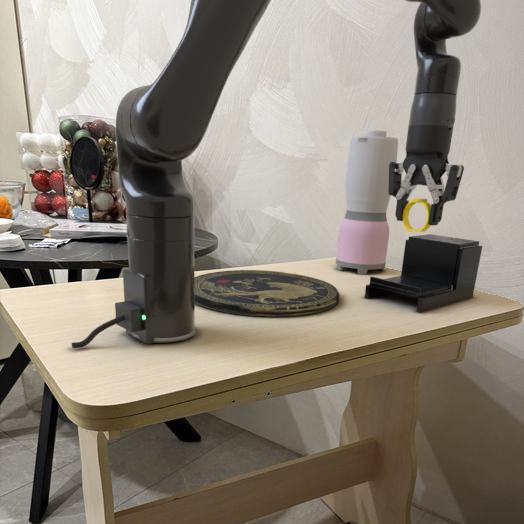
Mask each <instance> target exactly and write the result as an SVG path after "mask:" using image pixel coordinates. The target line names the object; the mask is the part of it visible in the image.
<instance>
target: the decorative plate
mask: <svg viewBox="0 0 524 524" xmlns="http://www.w3.org/2000/svg"><path fill="white" fill-rule="evenodd" d="M194 281H195V305H198V306H201V307H203V308H206V309H210V310H214V311H218V312H222V313H228V314H234V315H242V316H253V317H270V318H272V317H295V316H306V315H307V316H308V315H311V314H319V313H322V312H325V311H328V310H330V309H332V308H334V307H335V306H336V305H337V304H338V303H339V299H340V293H339V291H338V289H337V287H335V286H334V285H333V284H332V283H329V282H327V281H325V280H323V279H319V278H316V277H312V276H309V275H304V274H303V275H302V274H298V273H294V272H293V273H292V272H286V271H285V272H284V271H277V270H276V271H275V270H258V269H236V270H233V269H232V270H221V271H213V272H208V273H204V274H199V275H197V276H194Z"/></svg>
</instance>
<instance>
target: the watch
mask: <svg viewBox="0 0 524 524" xmlns="http://www.w3.org/2000/svg"><path fill="white" fill-rule="evenodd" d="M417 203H418V204H419V203H420V204H422V206H424V207H425V211H426V220H425V223H424V226H422V227H421V228H420V229H419V228H413V227H412V226H411V224H410V220H409V217H410V216H409V215H410V211H411V209H412V207H413V206H414V205H415V204H417ZM430 210H431V204H430V202H429V201H428V198H424V197H423V198H421V197H420V198H419V197H412V198H411V201H409V203H408V204H407V205H406V207H405V209H404V211H403V217H402V218H403V221H402V223H403V226H404V228H405V229H406V230H407V231H408V232H416V233H417V232H419V233H420V232H421V233H422V232H423V233H424V232H426V231H428V229H430V227H431V225H429V217H430Z"/></svg>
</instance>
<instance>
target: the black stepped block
mask: <svg viewBox="0 0 524 524" xmlns="http://www.w3.org/2000/svg"><path fill="white" fill-rule="evenodd" d="M404 244H405V245H404V249H403V256H402V257H403V258H402V264H401V272H400V275H398V276H393V277H388V278H381V277H377V276H369V277H370V278H369V284H366V285H365V291H364V298H365V299H371V298H376V297H380V296H381V297H382V296H384V295H389V294H393V293H397V294H402V295H406V296H409V297H412V298H418V299H417V306H416V313H420V314H421V313H424V312H428V311H430V310H431V311H432V310H435V309H438V308H441V307H444V306H448V305H451V304H455V303H458V302H462V301H466V300H469V299H473V297H474V294H475V293H474V292H475V287H476V283H477V282H476V281H477V276H478V271H479V267H480V261H481V256H482V250H483V245H480V241H479V240H472V239H466V238H459V237H453V236H445V235H440V234H432V233H427V234H419V235H411V236H408V239H406V240H405V243H404Z"/></svg>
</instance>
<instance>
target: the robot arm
mask: <svg viewBox="0 0 524 524" xmlns="http://www.w3.org/2000/svg"><path fill="white" fill-rule="evenodd" d="M404 1H406V2H408V3H419V5H418V6H417V9H416V12H415V15H414V19H413V38H414V49H415V50H414V52H415V59H416V67H417V72H416V77H415V84H414V92H413V93H414V94H413V99H412V102H411V107H410V112H409V120H408V127H407V135H406V142H405V154H406V155H405V158H404V159H403V161H397V162H390V164H389V189H388V193H389V195H391V197H394V198H395V199H396V204H395V205H396V206H395V213H394V216H395V218H396V221H398V222H403V218H402V217H403V211H404V209H405V207H406V205H407V204H408V203H409V202H410V200H409V198H410V196H411V194H412V192H413V191H414V190H415V189H416V188H417V186H425V187H427V190H428V192H429V193H430V196H431V199H432V202H433V203H431V204H430V205H431V210H430V217H429V225H430V226H438V225H439V223H441V221H442V219H443V212H444V206H445V204H446V203H447V202H451V201H455V200H456V199H457V195H458V192H459V189H460V185H461V181H462V178H463V174H464V171H465V166H464V164H463V165H462V164H452V163H450V161H449V154H450V152H451V144H452V140H453V139H452V138H453V134H454V133H453V132H454V126H455V122H456V113H457V97H458V90H459V84H460V77H461V69H462V63H461V62H462V61H461V59H460V58H459V57H457V56H456V55H452V54H448V52H447V40H448V39H453V38H458V37H462V36H465V35H467V34H469V33H470V32H472V31H473V29H475V27H476V26H477V24H478V22H479V20H480V17H481V13H482V3H481V0H404ZM271 2H272V0H191V1H190V5H189V10H188V11H189V12H188V17H187V21H186V25H185V29H184V31H183V32H184V33H183V34H182V36H181V39H180V41H179V43H178V44H177V47H176V48H175V50H174V52H173V54H172V55H171V57H170V58H169V60H168V62H167V63H166V65H165V66H164V68H163V69H162V71H161V72H160V73H159V75H158V76H157V78H156V79H155V80H154V81H153V83H151V84H147V85H142V86H137V87H134V88H132V89H131V90H129V91H128V92H127V93H126V94H125V95H124V96H123V97H122V98H121V100H120V102H119V104H118V107H117V109H116V110H117V111H116V116H115V142H116V144H115V145H116V156H117V167H118V169H117V170H118V178H119V186H120V190H121V193H122V195H123V198H124V204H125V213H126V214H125V217H126V218H125V219H126V243H127V262H128V268H124V269H123V270H122V281H123V301H119V302H115V303H114V310H115V318H113V319H110V320H108V321H106V322H104V323H102V324H101V325H99V326H97V327H96V328H94V329H93V330H92V331H91V332H90V333H89V334H88V336H87V337H85V338H84V339H83V340H81V341H76V342H71V348H72V349H80V348H83V347H85V346H88V345H89V344H90V343H91V342H92V341H93V340H94V339H95V338H96V337H97V336H98V335H99V334H101V332H103V331H105V330H107V329H109V328H110V327H113V326H115V325H117V326H119V327H120V328H123V329H125V334H127V335H129V336H131V337H132V338H134V339H137V340H139V341H140V342H142V343H144V344H146V345H149V344H153V343H154V344H155V343H163V344H164V343H175V342H180V341H186V340H188V339H191V338H192V337H194V336H195V335H196V325H195V323H196V321H195V320H196V319H195V318H196V317H195V316H196V315H195V314H196V313H195V311H196V308H195V305H196V303H195V281H194V277H195V212H196V211H195V197H194V194H193V193H192V192H191V190H190V189H189V188H188V186H187V184H186V182H185V178H184V174H183V161H184V160H185V159H187V158H189V157H190V156H191V155H192V154H194V153H195V151H197V149H198V148H199V146H200V144H202V143H201V142H202V141H203V139H204V137H205V134H206V132H207V130H208V127H209V125H210V123H211V120H212V117H213V115H214V113H215V110H216V108H217V106H218V103H219V100H220V98H221V96H222V94H223V92H224V88H225V86H226V84H227V81H228V79H229V77H230V75H231V73H232V72H233V69H234V68H235V66H236V65H237V63H238V61H239V59H240V58H241V56H242V54H243V52H244V51H245V49H246V46H247V45H248V43H249V41H250V39H251V37H252V35H253V34H254V31H256V28H257V26H258V25H259V23H260V21H261V20H262V18H263V17H264V15H265V13H266V11H267V9H268V7H269V5H270V3H271ZM404 172H405V176H404V177H403V179H402V176H403V173H404ZM445 173H446V176H447V179H446V183H445V184H444V180H443V175H444V174H445Z"/></svg>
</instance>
